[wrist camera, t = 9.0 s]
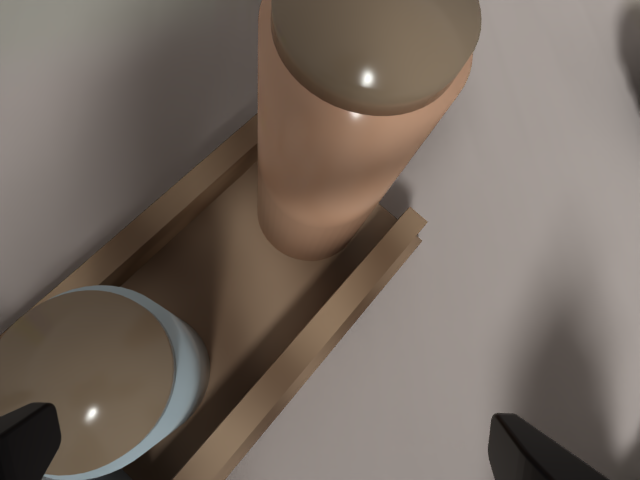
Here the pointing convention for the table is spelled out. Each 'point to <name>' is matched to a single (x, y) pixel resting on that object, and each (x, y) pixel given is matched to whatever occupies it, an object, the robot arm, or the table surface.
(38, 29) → the table surface
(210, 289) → the wooden drawer
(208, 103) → the table surface
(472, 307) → the table surface
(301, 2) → the jar
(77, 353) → the blue jar
